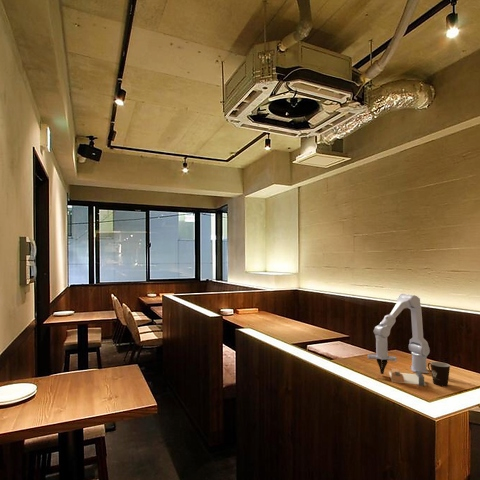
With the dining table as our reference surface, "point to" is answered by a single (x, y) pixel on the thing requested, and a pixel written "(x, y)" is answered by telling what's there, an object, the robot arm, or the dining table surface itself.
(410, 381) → the pintle base
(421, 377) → the keeper
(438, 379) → the coffee mug
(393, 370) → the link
